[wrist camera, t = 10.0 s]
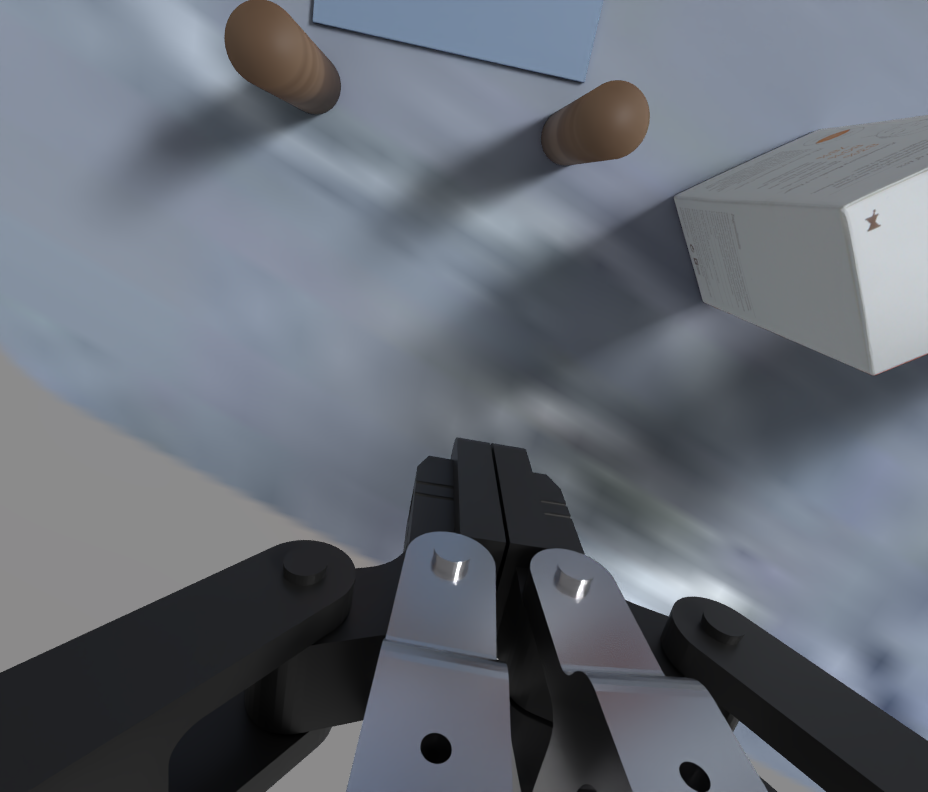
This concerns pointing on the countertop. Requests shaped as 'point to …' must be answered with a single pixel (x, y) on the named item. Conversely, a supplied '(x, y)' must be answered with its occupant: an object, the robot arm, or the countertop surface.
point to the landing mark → (480, 29)
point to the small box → (822, 242)
